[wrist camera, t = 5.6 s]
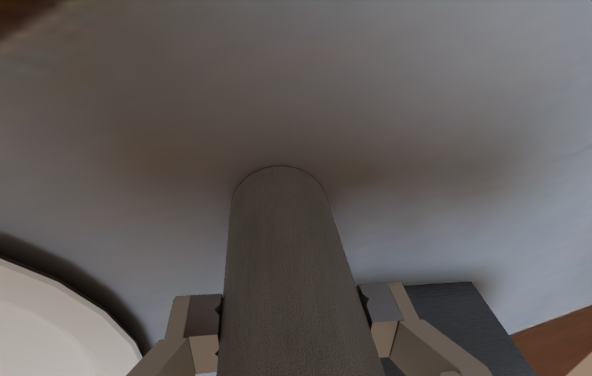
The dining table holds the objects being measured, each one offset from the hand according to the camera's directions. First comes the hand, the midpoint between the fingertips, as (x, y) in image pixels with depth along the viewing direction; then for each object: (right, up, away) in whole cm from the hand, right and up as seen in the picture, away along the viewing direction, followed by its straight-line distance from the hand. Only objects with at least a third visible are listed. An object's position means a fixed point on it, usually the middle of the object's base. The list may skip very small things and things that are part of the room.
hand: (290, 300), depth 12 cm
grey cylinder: (-1, +3, +5) cm, 6 cm away
